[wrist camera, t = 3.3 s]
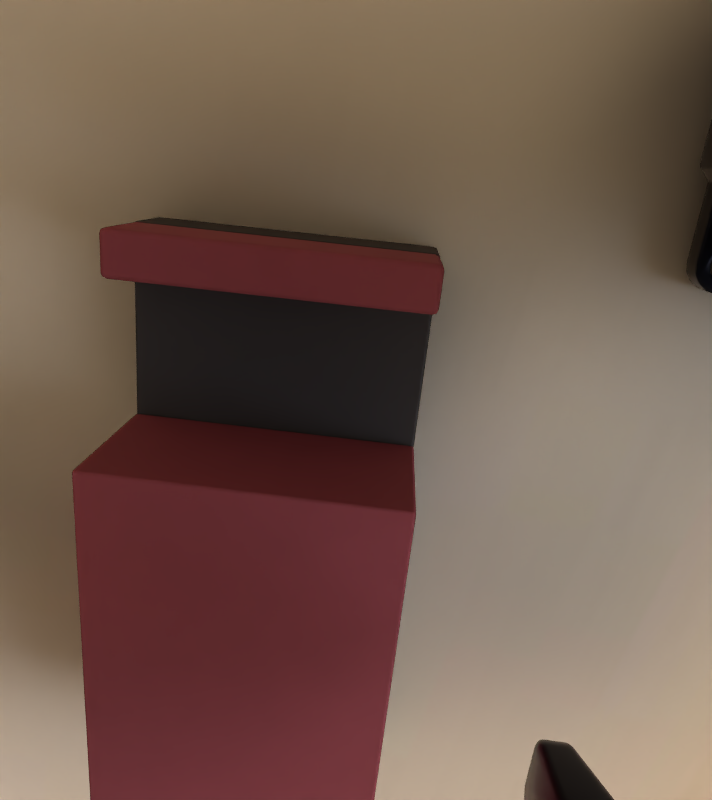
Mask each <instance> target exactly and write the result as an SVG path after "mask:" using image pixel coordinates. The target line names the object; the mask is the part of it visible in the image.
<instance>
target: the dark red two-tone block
mask: <svg viewBox="0 0 712 800" xmlns="http://www.w3.org/2000/svg"><path fill="white" fill-rule="evenodd" d="M99 239H100V267H101V275H102V276H103V277H105V278H107V279H114V280H123V281H132V282H135V307H136V363H137V414H136V415H135V416H134V417H133V418H131V419H130V420H129V421H128V422H127V423H126V424H125V425H124V426H122V427H121V428H120V429H119V430H118V431H117V432H116V433H115V434H113V435H112V436H111V437H110V438H109V439H108V440H107V441H106V442H104V443H103V444H102V445H101V446H100V447H99V448H98V449H97V450H95V451H94V452H93V453H92V454H91V455H90V456H89V457H88V458H86V459H85V460H84V461H83V462H82V463H81V464H80V465H79V466H78V467H76V468H75V469H74V470H73V472H72V482H73V500H74V517H75V535H76V553H77V570H78V588H79V606H80V623H81V641H82V659H83V676H84V694H85V712H86V729H87V747H88V764H89V782H90V800H374V797H375V790H376V783H377V776H378V770H379V763H380V756H381V749H382V742H383V736H384V729H385V722H386V715H387V708H388V701H389V695H390V688H391V681H392V674H393V667H394V661H395V654H396V647H397V640H398V633H399V627H400V620H401V613H402V606H403V599H404V593H405V586H406V579H407V572H408V565H409V559H410V552H411V545H412V538H413V531H414V525H415V518H416V501H415V473H414V449H413V447H414V440H415V433H416V426H417V419H418V411H419V404H420V397H421V390H422V383H423V376H424V368H425V361H426V354H427V347H428V340H429V333H430V326H431V318H432V315H433V314H436V313H437V312H438V310H439V305H440V298H441V291H442V284H443V277H444V267H443V264H442V262H441V260H440V255H439V253H438V251H437V248H435V247H430V246H420V245H411V244H402V243H393V242H383V241H374V240H365V239H355V238H346V237H337V236H328V235H318V234H309V233H300V232H290V231H281V230H272V229H263V228H253V227H244V226H235V225H225V224H216V223H207V222H198V221H188V220H179V219H170V218H160V217H159V218H153V219H147V220H141V221H136V222H133V223H127V224H121V225H116V226H110V227H105V228H102V229H101V230H100V233H99Z"/></svg>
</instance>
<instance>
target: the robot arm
mask: <svg viewBox="0 0 712 800" xmlns="http://www.w3.org/2000/svg"><path fill="white" fill-rule="evenodd" d="M700 167H701V169H702V171H703V173H704V175H705V176H706V178H707V180H708V181H709V182H708V186H707V190H706V193H705V197H704V201H703V205H702V208H701V212H700V216H699V220H698V223H697V227H696V231H695V234H694V238H693V242H692V246H691V249H690V253H689V257H688V261H687V274H688V276H689V279H690V281H691V282H692V283H693V284H694V285H695V286H696V287H697V288H699V289H702V290H705V291H707V292H710V293H712V274H711V273H710V271H711V263H712V120H711V124H710V128H709V132H708V136H707V140H706V143H705V147H704V151H703V155H702V159H701V163H700ZM524 800H614V799H613V798H612V796H611V795H610V794H609V793H608V791H607V790H606V789H605V787H604V786H603V785H602V784H601V782H600V781H599V780H598V779H597V777H596V776H595V775H594V773H593V772H592V771H591V770H590V768H589V767H588V766H587V765H586V763H585V762H584V761H583V759H582V758H581V757H580V756H579V754H578V753H577V752H576V751H575V749H574V748H573V747H572V746H571V745H569V744H568V743H564V742H557V741H550V740H539V741H538V742H537V744H536V745H535V748H534V752H533V756H532V760H531V764H530V768H529V772H528V776H527V780H526V784H525V793H524Z"/></svg>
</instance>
